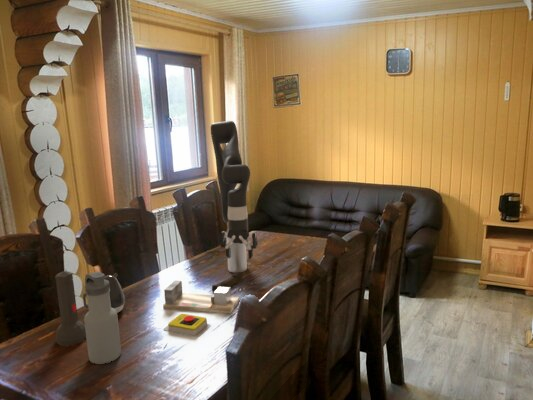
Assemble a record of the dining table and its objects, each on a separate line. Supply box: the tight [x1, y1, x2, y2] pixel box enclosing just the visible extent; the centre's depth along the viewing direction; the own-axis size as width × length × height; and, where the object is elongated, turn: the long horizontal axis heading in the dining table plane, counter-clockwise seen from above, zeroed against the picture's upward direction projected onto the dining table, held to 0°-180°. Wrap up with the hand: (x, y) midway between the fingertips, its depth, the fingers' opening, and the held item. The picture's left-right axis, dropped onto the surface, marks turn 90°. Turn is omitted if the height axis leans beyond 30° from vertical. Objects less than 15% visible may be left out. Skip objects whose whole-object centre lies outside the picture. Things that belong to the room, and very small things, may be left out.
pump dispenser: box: [105, 272, 126, 314], centre depth 170 cm, size 10×10×15 cm
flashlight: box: [54, 271, 86, 347], centre depth 149 cm, size 10×25×10 cm
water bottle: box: [82, 271, 122, 365], centre depth 137 cm, size 10×10×28 cm
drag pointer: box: [209, 293, 214, 308], centre depth 172 cm, size 10×1×3 cm, turn 167°
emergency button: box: [163, 313, 212, 338], centre depth 157 cm, size 9×4×15 cm
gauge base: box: [162, 280, 240, 314], centre depth 175 cm, size 12×28×8 cm, turn 77°
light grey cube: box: [213, 286, 232, 305], centre depth 173 cm, size 6×5×5 cm
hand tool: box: [211, 272, 244, 294], centre depth 193 cm, size 19×4×5 cm, turn 142°
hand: (239, 258), depth 168 cm, fingers open, 8 cm apart
